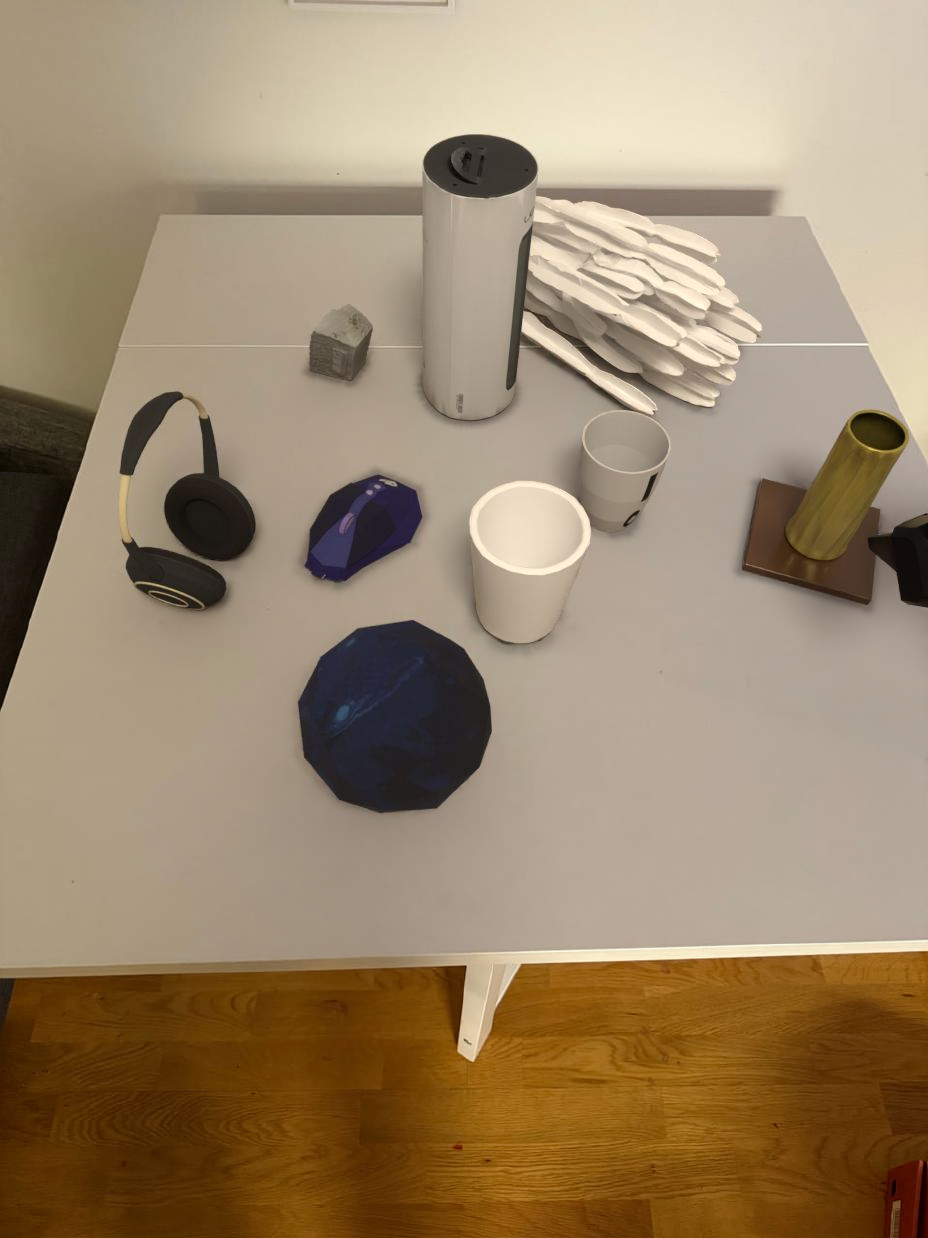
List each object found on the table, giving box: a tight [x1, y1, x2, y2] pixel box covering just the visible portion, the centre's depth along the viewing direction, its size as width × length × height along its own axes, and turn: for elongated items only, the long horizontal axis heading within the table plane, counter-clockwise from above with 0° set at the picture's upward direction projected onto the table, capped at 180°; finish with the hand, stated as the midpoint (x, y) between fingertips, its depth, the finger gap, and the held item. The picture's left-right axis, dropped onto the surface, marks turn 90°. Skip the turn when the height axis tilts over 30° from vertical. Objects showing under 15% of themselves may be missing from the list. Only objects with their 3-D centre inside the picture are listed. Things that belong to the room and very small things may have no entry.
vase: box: [785, 409, 910, 560], centre depth 79 cm, size 6×6×14 cm
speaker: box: [421, 133, 540, 422], centre depth 86 cm, size 11×10×26 cm
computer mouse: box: [304, 474, 423, 583], centre depth 83 cm, size 9×15×4 cm, turn 152°
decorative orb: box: [297, 619, 493, 814], centre depth 66 cm, size 14×15×15 cm
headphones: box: [117, 390, 257, 611], centre depth 73 cm, size 9×15×20 cm, turn 165°
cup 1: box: [468, 480, 592, 645], centre depth 75 cm, size 10×10×13 cm
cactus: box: [521, 195, 763, 417], centre depth 95 cm, size 17×18×35 cm
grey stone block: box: [308, 303, 374, 382], centre depth 94 cm, size 7×9×8 cm
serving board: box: [741, 477, 881, 606], centre depth 86 cm, size 12×12×1 cm
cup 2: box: [578, 409, 672, 533], centre depth 83 cm, size 8×8×10 cm
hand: (911, 525), depth 74 cm, fingers open, 9 cm apart
